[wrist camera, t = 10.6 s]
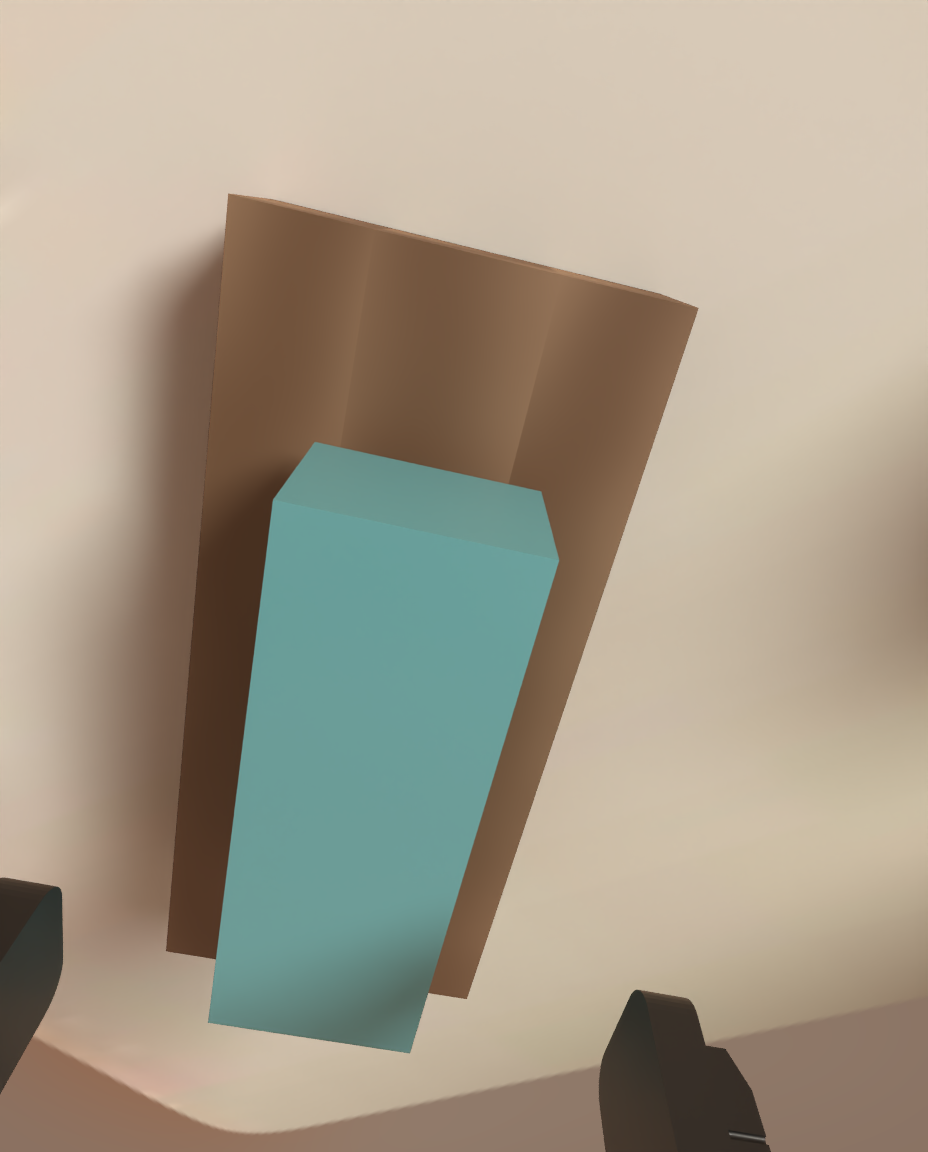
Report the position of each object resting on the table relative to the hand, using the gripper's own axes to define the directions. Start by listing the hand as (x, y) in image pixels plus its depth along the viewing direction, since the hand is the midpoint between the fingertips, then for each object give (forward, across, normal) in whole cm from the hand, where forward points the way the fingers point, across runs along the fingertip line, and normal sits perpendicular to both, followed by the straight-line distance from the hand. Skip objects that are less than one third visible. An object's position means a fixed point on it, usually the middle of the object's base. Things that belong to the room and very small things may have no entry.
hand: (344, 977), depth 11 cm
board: (+9, 0, 0) cm, 9 cm away
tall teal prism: (+9, 0, 0) cm, 9 cm away
